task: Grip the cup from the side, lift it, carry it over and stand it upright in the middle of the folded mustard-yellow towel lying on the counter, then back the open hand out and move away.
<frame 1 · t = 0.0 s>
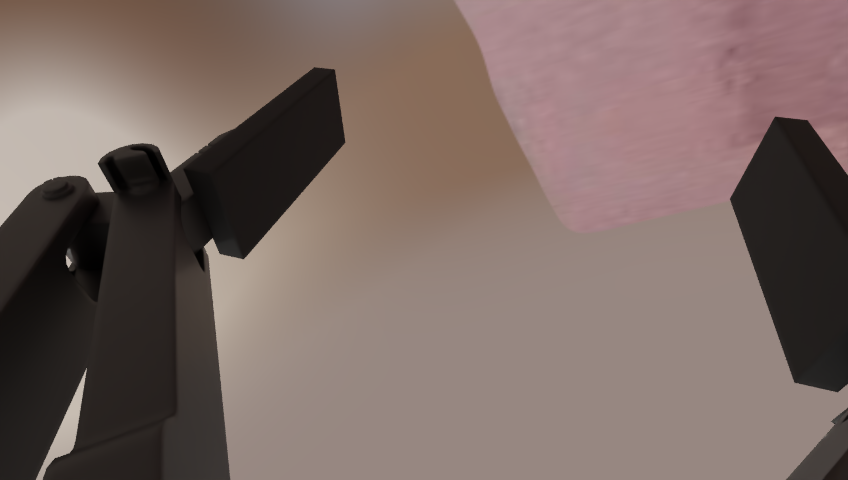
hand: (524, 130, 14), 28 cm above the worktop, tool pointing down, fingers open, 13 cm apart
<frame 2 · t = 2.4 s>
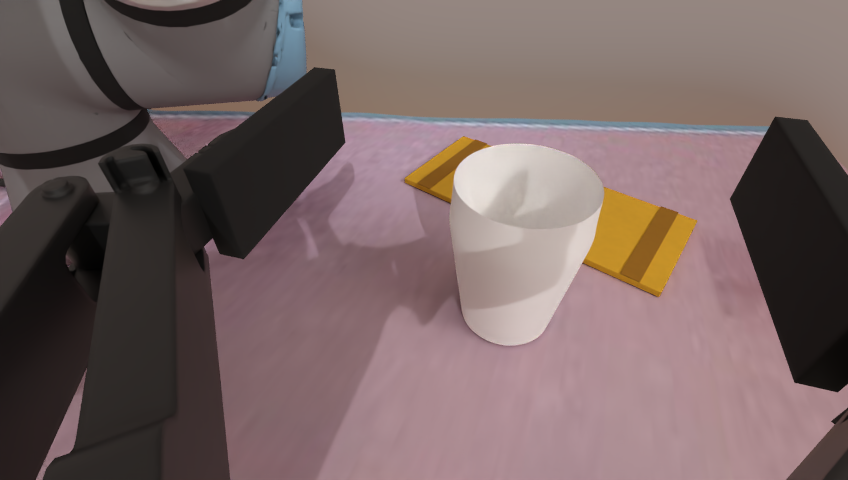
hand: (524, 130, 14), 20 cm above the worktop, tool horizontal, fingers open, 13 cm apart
towel: (540, 202, 44), on the worktop
cup: (504, 312, 34), on the worktop
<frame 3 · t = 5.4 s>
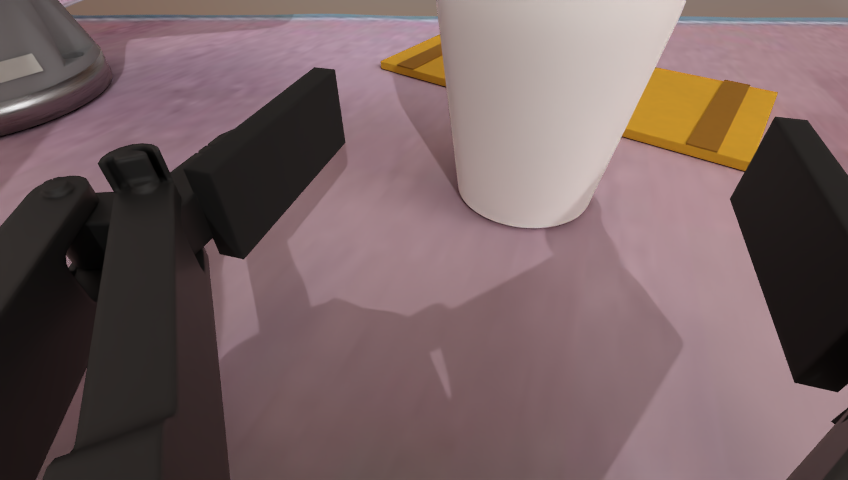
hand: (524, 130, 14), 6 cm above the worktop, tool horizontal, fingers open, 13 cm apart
towel: (561, 83, 33), on the worktop
cup: (522, 192, 23), on the worktop
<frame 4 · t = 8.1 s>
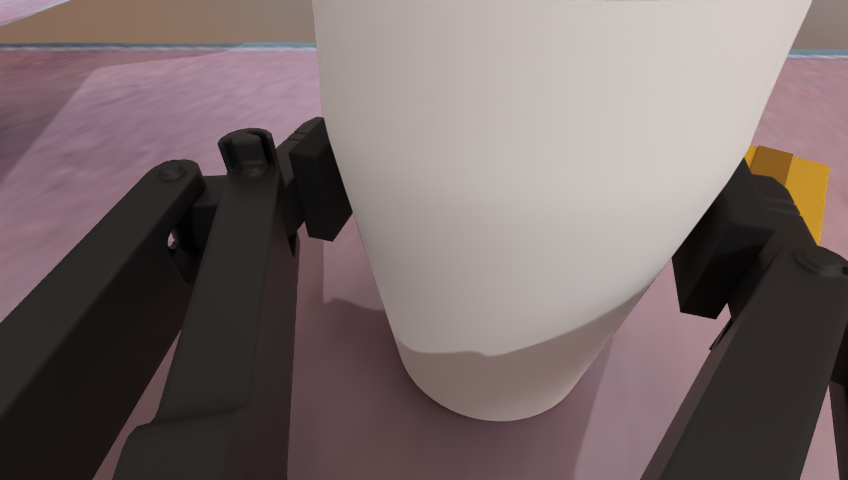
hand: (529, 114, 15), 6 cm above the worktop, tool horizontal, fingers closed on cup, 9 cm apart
towel: (551, 145, 26), on the worktop
cup: (488, 338, 16), on the worktop, touching gripper
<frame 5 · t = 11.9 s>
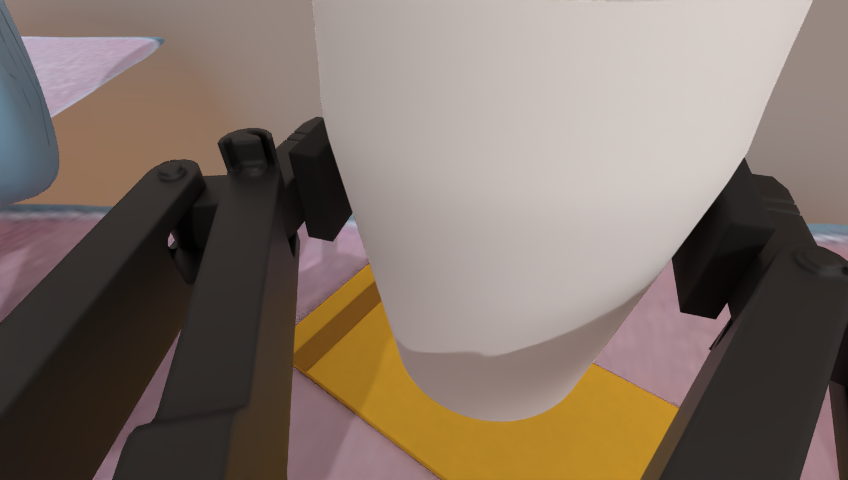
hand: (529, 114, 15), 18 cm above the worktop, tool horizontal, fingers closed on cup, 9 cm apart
towel: (487, 396, 27), on the worktop
cup: (488, 339, 16), point 11 cm above the worktop, touching gripper
when the fingers open (7 cm above the worktop, at t = 15.9 s): cup stays where it is, resting on towel.
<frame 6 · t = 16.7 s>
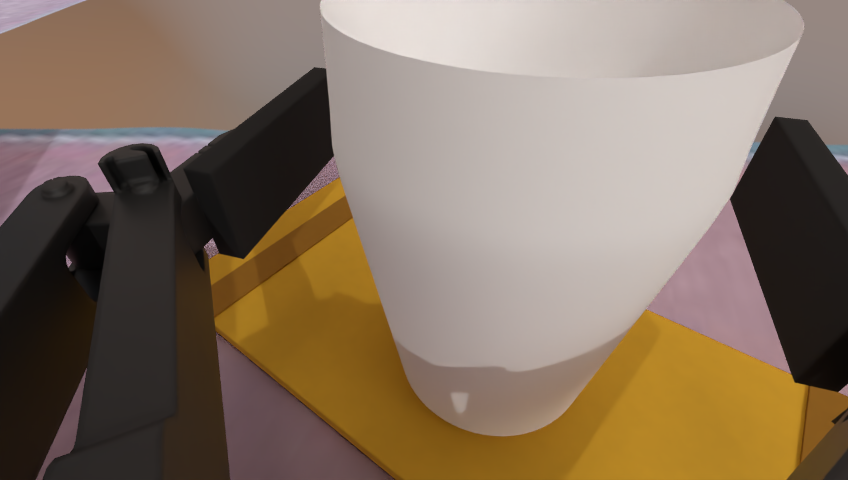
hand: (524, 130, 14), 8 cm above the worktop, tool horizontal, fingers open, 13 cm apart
towel: (487, 358, 17), on the worktop
cup: (489, 354, 17), resting on towel
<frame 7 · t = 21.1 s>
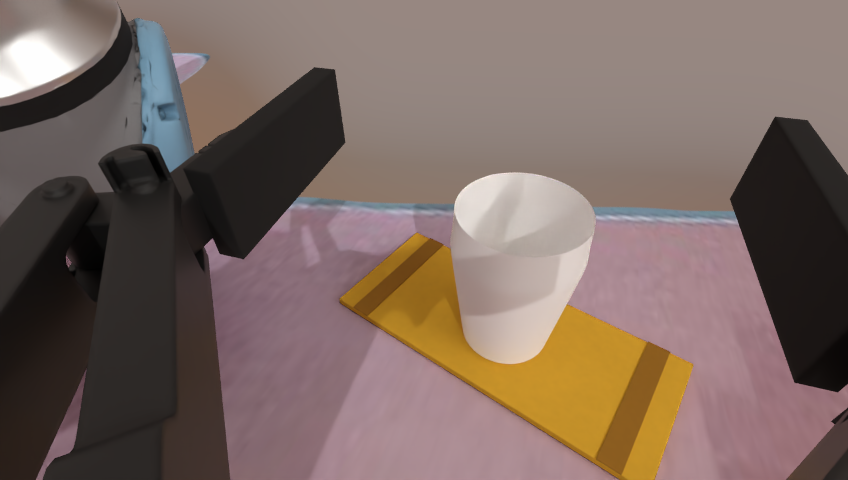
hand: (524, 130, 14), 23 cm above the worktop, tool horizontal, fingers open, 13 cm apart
towel: (502, 333, 36), on the worktop
cup: (503, 331, 36), resting on towel
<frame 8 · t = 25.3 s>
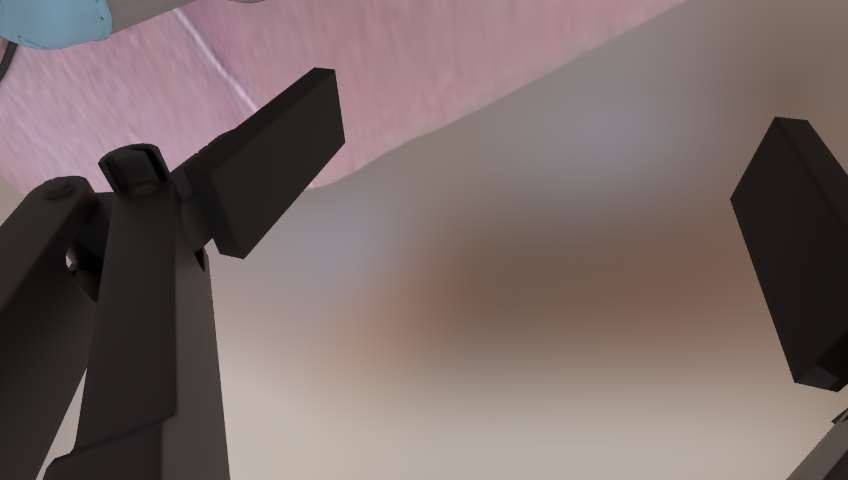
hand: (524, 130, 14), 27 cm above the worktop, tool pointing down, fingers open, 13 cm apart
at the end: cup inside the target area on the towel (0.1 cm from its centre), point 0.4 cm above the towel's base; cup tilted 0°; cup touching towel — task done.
